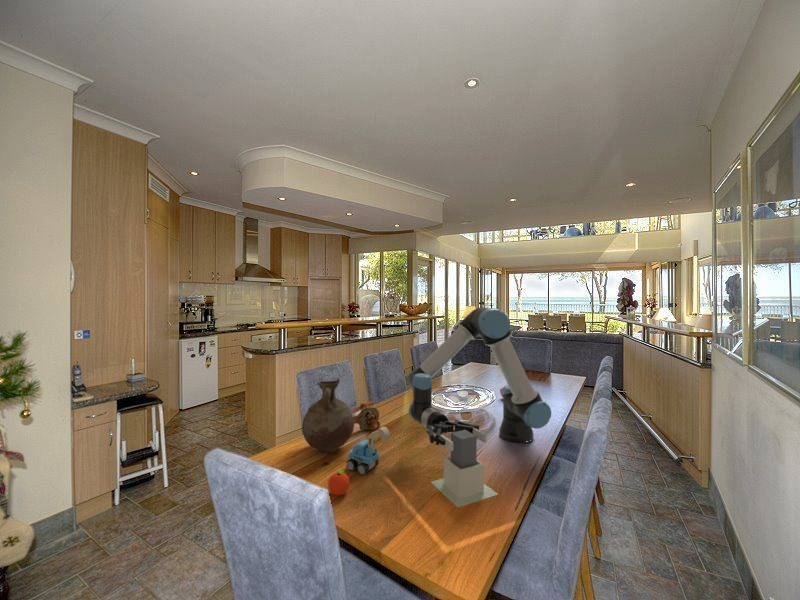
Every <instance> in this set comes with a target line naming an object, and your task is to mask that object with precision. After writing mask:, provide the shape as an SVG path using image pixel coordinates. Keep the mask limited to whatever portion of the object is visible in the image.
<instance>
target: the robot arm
mask: <svg viewBox="0 0 800 600" xmlns="http://www.w3.org/2000/svg"><path fill="white" fill-rule="evenodd" d="M457 325H458V326H457V329H456V330H454V331H453V333H451V334H450V335H449V337H448V338H446V340H444V341H443V342H442V343H441V344H440V346H439V347H438V348H436V350H434V351H433V352H432V353H431V354H430V355H428V357H427V358H426V359H425V360H424V361H423V362H422V363H421V365H419V366H418V367H417V368H416V369H414V370H412V371H410V372H409V373H408V374H407V377H406V381H407V385H408V386H409V388H410V389H411V390H412V402H411V404H410V405H409V408H408V413H409V414H408V415H409V416H410V417H411V418H412V419H413V420H414V421H415V422H418V423H419V424H421V425H422V426H423V427H425V428H426V433H427V434H428V438H429V442H430V444H434V442H435V446H440V445H441V446H443V447H445V448H446V449H448V450H449V451H450V452H451V451H453V442H452V441H451V439H450V438H448V437H446V436H444V435H443V434H448V433H452V432H457V431H462V430H467V431H469V432H470V433H472V434H474V435H476V436H477V440H479V441H481V442H483V443H484V444H486V443H487V442H488V435H487V433H484V432H483V431H481V430H480V426H479V425H478V424H474V423H470V422H466V421H461V420H459V419H454V421H451V420H449V419H448V416H447V415H446V414H444V413H441V412H440V411H438V410H437V409H435V408H433V407H432V405H433V404H432V401H433V400H432V397H433V395H432V393H433V391H432V389H433V387H432V386H433V383H432V379H433V377H434V376H436V374H438V372H440V371H441V370H442V368H444V366H445V365H447V364H448V363H449V362H450V361H451V360H452V359H453V358H454V357H455V356H456V355H457V354H458V353H459V351H461V350H462V349H463V348H464V347H465V346H466V345H468V343H469V342H470V341H471V340H472V341H474V340H475V339H476V338H477V337H478V336H480V337H481V339H482V341H483V344H484V345H485V346H488V347H490V350H491V352H492V354H493V356H494V357H495V358H494V359H495V360H496V362H497V364H498V366H499V369H500V371H501V373H502V375H503V376H504V380H505V381H506V383H507V384H506V385H508V387H505V388H504V391H503V397H502V399H503V401H502V404H503V405H502V406H503V409H502V410H503V413H502V414H503V415H502V416H503V417H502V421H501V424H500V426H499V430H498V435H499V436H501V437H500V438H502V439H503V438H504V439H503V440H505V439H506V440H505V441H508V440H509V441H508V442H511V441H515V442H514V443H517V442H526V441H530V440H532V439H533V440H534V431H533V429H542V428H544V427H546V426H547V424H548V423H549V422H550V419H551V417H552V408H551V407H550V406H549V404H548V403H547V402H545V401H543V399H542V397H541V395H540V392H539V390H538V389H537V388H535V387H533V386H532V384H531V382H530V380H529V378H528V375H527V374H526V372H525V369H524V367H523V365H522V363H521V361H520V358H519V356H518V355H517V352H516V350H515V348H514V346H513V343H512V342H511V339H510V337H511V335H512V333H511V331H510V326H511V325H510V319H509V317H508V315H507V314H506V313H505V312H504V311H503V310H501V309H498V308H495V307H494V308H493V307H477V308H475V309H473V310H472V311H471V312H470V313H468V314H467V315H466V316H465V317H464V319H463V320H461V321H460V323H458V324H457ZM533 440H532V441H533ZM530 442H531V441H530Z"/></svg>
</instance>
